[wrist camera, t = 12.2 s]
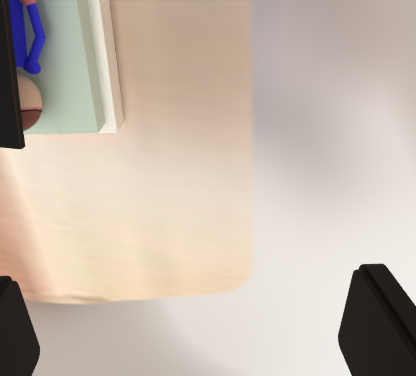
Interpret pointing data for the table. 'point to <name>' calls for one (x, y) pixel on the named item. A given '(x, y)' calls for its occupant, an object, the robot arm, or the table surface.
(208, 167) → the table surface
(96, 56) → the pale green stepped box
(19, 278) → the table surface
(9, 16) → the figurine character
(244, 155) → the table surface
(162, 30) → the table surface
